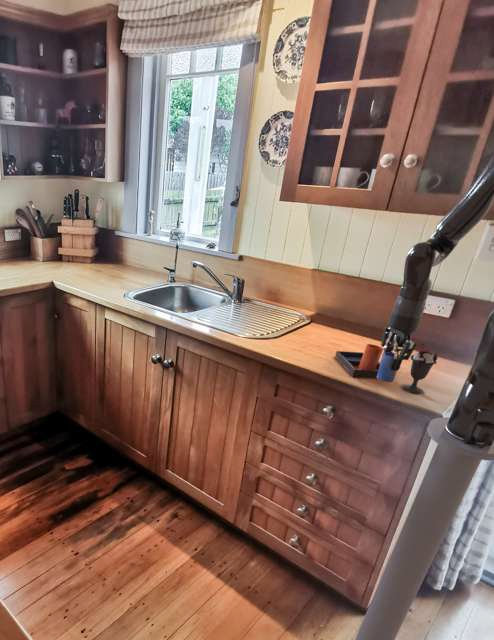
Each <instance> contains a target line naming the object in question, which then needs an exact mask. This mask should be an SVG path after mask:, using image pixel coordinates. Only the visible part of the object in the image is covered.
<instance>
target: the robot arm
mask: <svg viewBox="0 0 494 640" xmlns="http://www.w3.org/2000/svg"><path fill="white" fill-rule="evenodd" d="M493 202H494V155H493V156H492V157H491V159H490V160H489V161H488V162H487V164H486V165H485V167H484V168H483V170H482V171H481V172H480V174H479V176H478V177H477V178H476V180H474V182H473V183H472V185H471V186H470V188H468V190H467V191H466V193H464V195H463V196H462V197H461V199H460V200H458V201H457V203H456V204H455V205H453V207H452V208H451V209H450V210H449V211H448V212H447V213H446V214H445V215H444V217H443V218H441V220H439V222H438V223H437V225H436V227H435V232H434V233H433V234H432V235H431V236H430V237H429V238H428V239H427V240H426V241H422V242H418V243H416V244H414V245H413V246H412V247H410V249H409V250H408V252H407V255H406V257H405V261H404V267H403V280H402V283H401V285H400V289H399V293H398V295H397V298H396V300H395V302H394V304H393V307H392V310H391V314H390V318H389V320H388V324H387V325H388V326H385V327H384V328H383V332H382V336H381V337H382V338H381V344H380V347H382V348H383V353H384V352H391V353H395V355H394V359H393V362H392V365H391V368H390V369H391V370H392V371H397V372H398V371H399V370H400V369H401V365H402V363H403V361H409V359H410V358H411V356H412V355H413V352H414V350H415V348H416V347H417V342H415V341H412V334H413V333H414V332H417V331H418V329H419V326H420V323H421V320H422V317H423V315H424V311H425V308H426V305H427V301H428V297H429V294H430V292H431V288H432V280H431V278H430V277H431V272H432V269H433V268H434V267H436V266H438V265H440V264H441V263H442V262H444V261H445V260H446V259H447V258H448V257H449V256H450V254H451V253H452V252H453V251H454V250H455V248H456V247H457V246H458V244H459V243H460V241H461V240H462V239H463V238H464V237H466V235H468V234H469V233H470V232H471V230H473V229H474V228H475V227H476V226H477V225H478V224H479V223H480V222H481V221H482V220H483V219H484V217H485V216H486V215H487V213H488V212H489V211H490V209H491V207H492V204H493ZM393 351H394V352H393ZM449 418H450V419H448V423H447V425H446V427H445V430H446V431H447V433H449V434H450V435H451V436H453V437H454V438H456V439H458V440H461V441H463V442H464V443H465V444H470V445H480V446H479V448H481V449H482V448H483V447H485V446H491V445H492V443H493V441H494V309H493V310H492V311H491V312H490V314H489V315H488V317H487V318H486V321H485V323H484V326H483V328H482V331H481V335H480V338H479V341H478V343H477V345H476V348H475V351H474V357H473V362H472V365H471V367H470V368H469V371H468V374H467V377H466V378H465V381H464V383H463V386H462V388H461V390H460V393H459V395H458V397H457V400H456V402H455V405H454V407H453V409H452V411H451V414H450V416H449Z"/></svg>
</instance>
